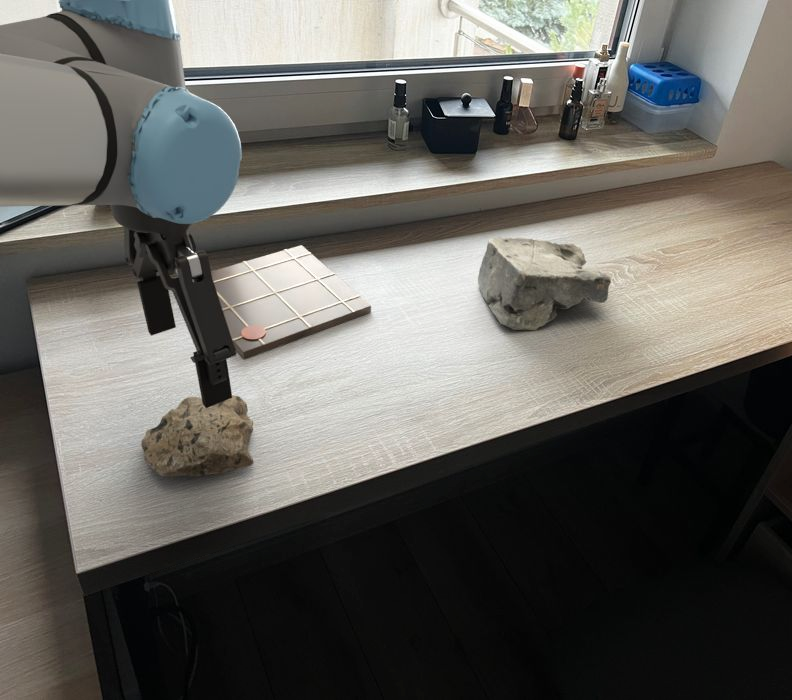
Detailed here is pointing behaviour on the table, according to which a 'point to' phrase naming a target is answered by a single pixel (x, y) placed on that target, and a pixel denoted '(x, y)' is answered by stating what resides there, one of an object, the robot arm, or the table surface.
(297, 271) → the grid board
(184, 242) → the robot arm
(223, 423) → the rock
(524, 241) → the grey broken concrete chunk
